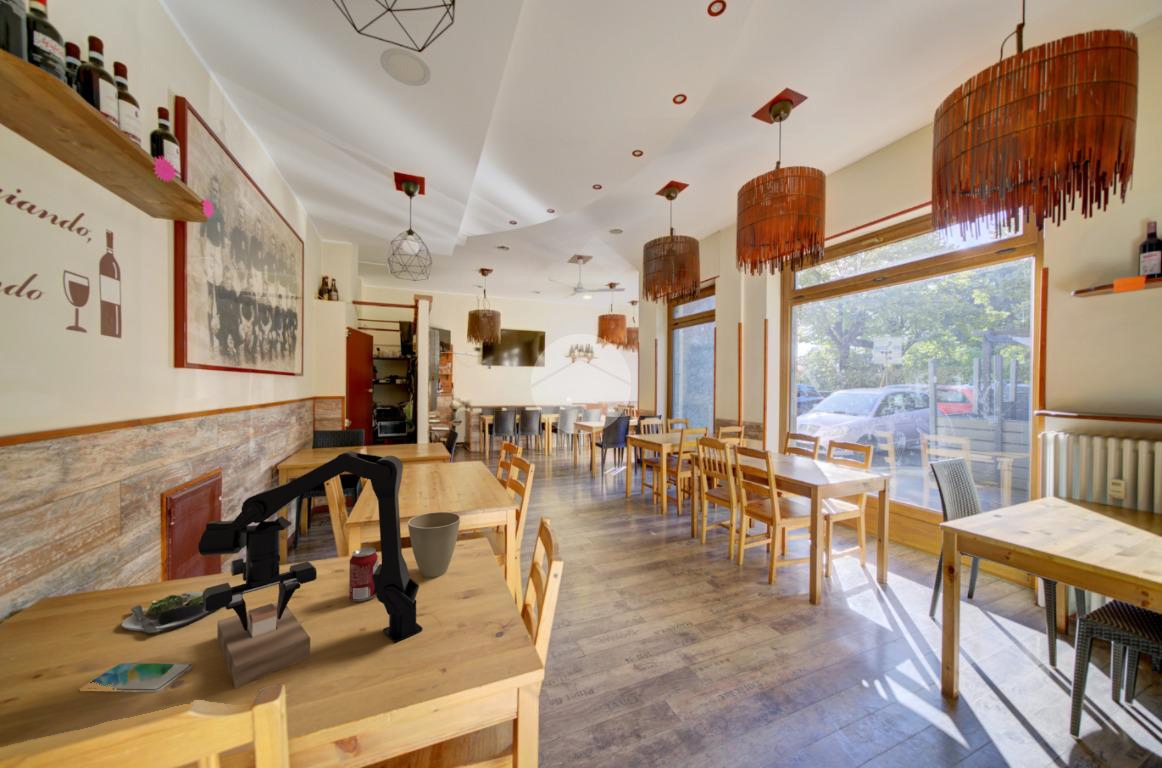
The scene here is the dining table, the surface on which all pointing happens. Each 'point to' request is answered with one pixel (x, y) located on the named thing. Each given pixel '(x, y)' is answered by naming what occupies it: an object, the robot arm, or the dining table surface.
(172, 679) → the smartphone
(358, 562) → the soda can
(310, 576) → the robot arm
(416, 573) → the dining table surface
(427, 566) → the plant pot
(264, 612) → the plug
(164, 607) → the salad plate
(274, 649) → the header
